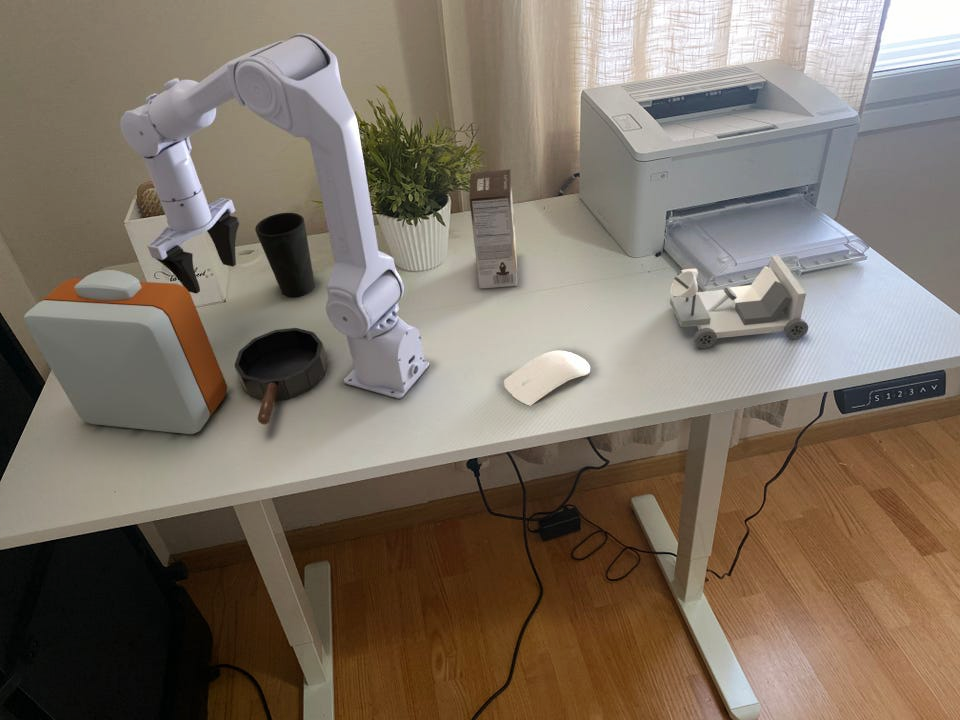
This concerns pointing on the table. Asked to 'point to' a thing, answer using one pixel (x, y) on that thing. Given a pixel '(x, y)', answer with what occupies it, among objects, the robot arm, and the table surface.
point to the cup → (287, 252)
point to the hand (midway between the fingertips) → (212, 277)
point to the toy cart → (741, 305)
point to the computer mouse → (545, 375)
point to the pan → (280, 366)
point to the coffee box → (493, 228)
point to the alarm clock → (129, 352)
